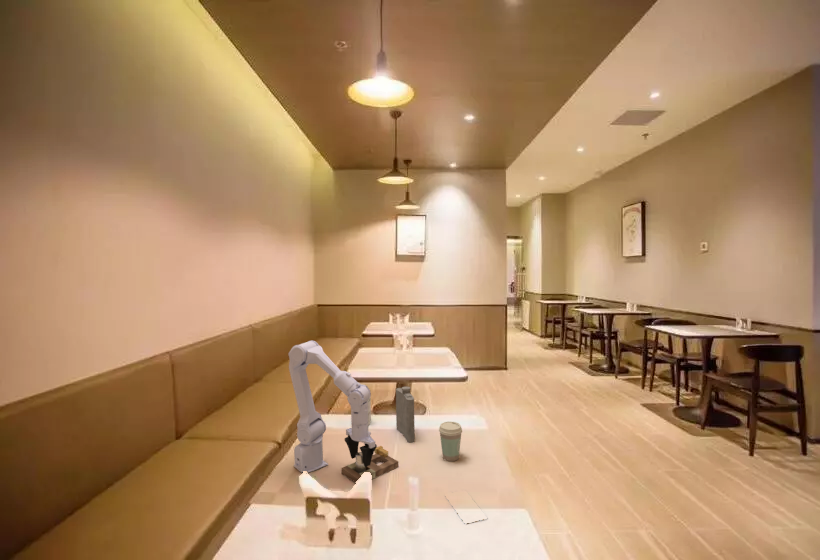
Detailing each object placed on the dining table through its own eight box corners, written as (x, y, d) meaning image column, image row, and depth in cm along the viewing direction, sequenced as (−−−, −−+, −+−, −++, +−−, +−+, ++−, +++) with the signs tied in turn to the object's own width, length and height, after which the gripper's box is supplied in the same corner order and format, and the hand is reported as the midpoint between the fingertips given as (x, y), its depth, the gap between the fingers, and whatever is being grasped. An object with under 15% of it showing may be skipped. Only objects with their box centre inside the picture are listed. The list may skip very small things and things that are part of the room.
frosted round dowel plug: (359, 478, 136) (359, 457, 136) (354, 474, 139) (353, 454, 138) (368, 474, 138) (367, 454, 138) (362, 470, 141) (361, 450, 141)
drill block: (358, 485, 132) (358, 479, 132) (341, 473, 139) (341, 467, 139) (398, 466, 143) (398, 461, 143) (381, 456, 150) (380, 451, 150)
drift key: (383, 458, 145) (383, 453, 145) (374, 453, 149) (374, 448, 149) (389, 455, 147) (389, 450, 147) (380, 450, 151) (380, 445, 151)
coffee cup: (461, 464, 144) (461, 431, 144) (437, 462, 146) (437, 429, 146) (463, 452, 153) (463, 421, 152) (440, 451, 154) (440, 420, 154)
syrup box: (371, 421, 184) (370, 389, 184) (368, 426, 179) (368, 393, 178) (358, 420, 185) (358, 389, 184) (356, 425, 179) (355, 393, 178)
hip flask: (395, 428, 176) (394, 382, 175) (404, 426, 178) (403, 381, 177) (408, 443, 161) (407, 393, 160) (417, 441, 163) (417, 392, 162)
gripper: (382, 425, 135) (383, 465, 136) (357, 413, 146) (358, 450, 146) (365, 431, 130) (365, 472, 131) (340, 418, 141) (341, 456, 142)
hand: (360, 461), depth 138 cm, fingers open, 7 cm apart
